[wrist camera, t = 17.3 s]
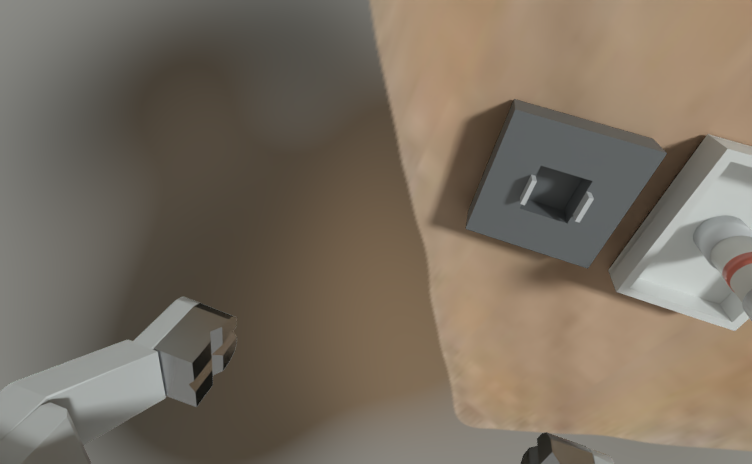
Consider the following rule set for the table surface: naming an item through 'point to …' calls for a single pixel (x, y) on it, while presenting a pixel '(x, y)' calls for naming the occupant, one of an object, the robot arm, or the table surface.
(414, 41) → the table surface
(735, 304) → the tray
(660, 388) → the table surface
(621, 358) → the table surface
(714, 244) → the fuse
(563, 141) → the fuse holder
